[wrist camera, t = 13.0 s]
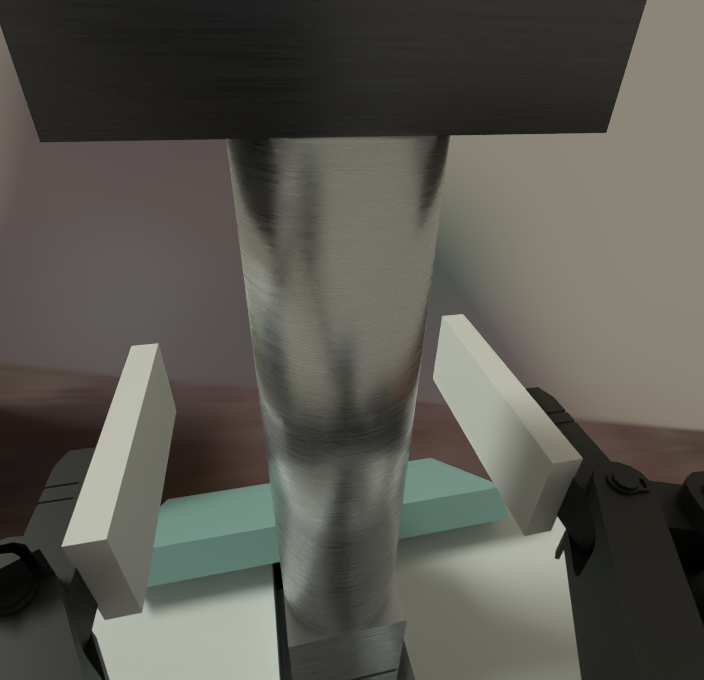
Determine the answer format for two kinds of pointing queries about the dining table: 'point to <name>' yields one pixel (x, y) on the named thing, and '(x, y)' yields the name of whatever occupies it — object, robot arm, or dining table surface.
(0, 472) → the dining table surface
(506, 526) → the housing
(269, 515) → the cover
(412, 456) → the dining table surface
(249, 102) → the t key
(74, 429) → the dining table surface
